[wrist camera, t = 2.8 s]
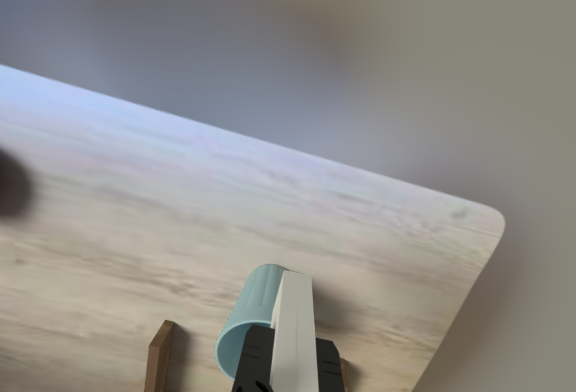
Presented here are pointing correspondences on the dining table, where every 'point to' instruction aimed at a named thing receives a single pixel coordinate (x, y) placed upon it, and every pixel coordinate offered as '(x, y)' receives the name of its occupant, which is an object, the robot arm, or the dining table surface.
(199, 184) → the dining table surface
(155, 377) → the corral
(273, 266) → the cup
